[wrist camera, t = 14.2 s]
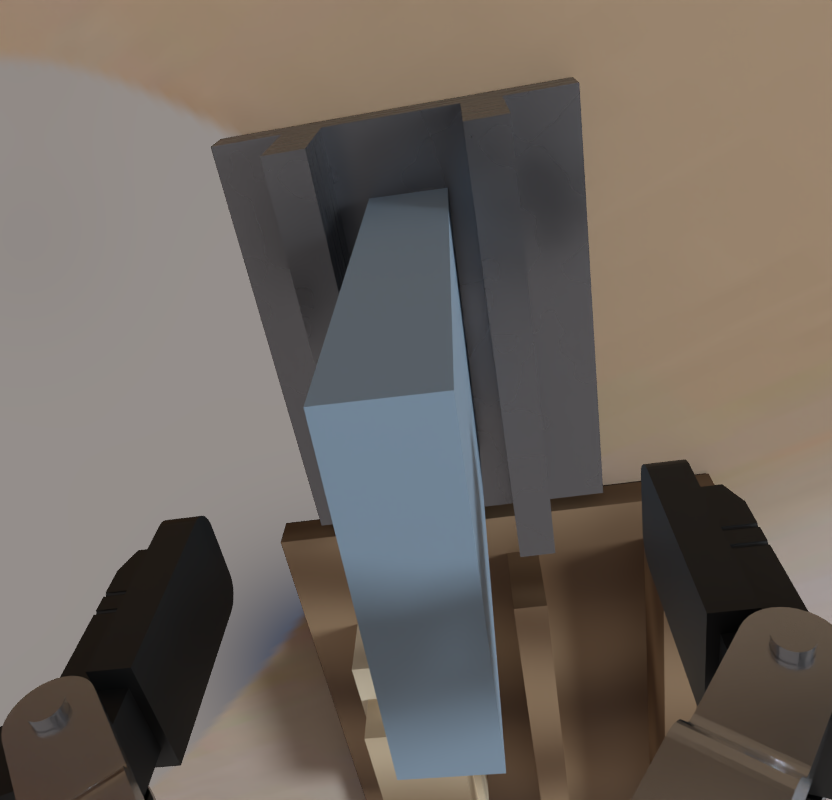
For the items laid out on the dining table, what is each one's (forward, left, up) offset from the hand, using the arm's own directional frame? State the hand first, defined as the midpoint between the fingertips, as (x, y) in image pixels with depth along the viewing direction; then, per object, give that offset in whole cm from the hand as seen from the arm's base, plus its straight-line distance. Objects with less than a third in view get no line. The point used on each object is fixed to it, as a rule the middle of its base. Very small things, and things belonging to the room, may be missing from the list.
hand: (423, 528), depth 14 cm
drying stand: (0, 0, -9) cm, 9 cm away
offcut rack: (+15, +1, -9) cm, 18 cm away
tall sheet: (0, 0, -8) cm, 8 cm away
